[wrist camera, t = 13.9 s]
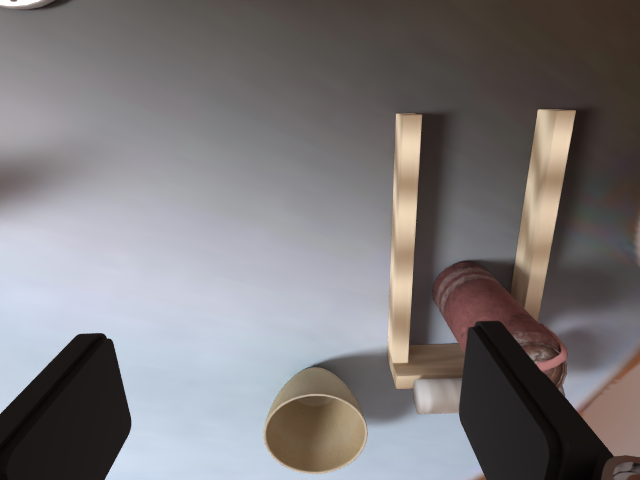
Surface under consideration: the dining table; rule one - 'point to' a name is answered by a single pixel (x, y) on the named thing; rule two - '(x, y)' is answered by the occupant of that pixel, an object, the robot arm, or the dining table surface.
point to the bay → (529, 271)
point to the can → (495, 315)
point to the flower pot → (315, 423)
